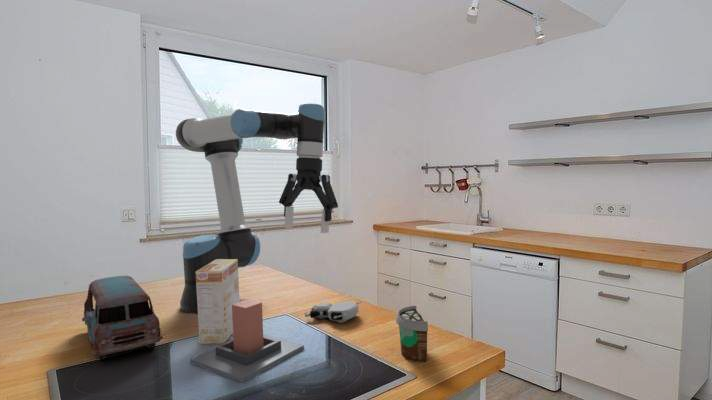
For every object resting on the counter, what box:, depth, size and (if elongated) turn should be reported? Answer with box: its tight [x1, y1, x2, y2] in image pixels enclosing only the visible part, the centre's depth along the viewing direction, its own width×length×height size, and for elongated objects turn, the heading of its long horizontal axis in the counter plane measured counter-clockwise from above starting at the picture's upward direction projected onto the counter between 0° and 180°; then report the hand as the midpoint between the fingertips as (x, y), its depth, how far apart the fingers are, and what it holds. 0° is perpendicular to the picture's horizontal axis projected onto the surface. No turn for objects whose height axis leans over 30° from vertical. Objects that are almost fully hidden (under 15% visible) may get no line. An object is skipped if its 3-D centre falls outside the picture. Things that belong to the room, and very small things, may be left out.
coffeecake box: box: [195, 259, 241, 345], centre depth 118 cm, size 15×7×20 cm, turn 178°
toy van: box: [81, 275, 164, 361], centre depth 114 cm, size 16×32×15 cm, turn 37°
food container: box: [395, 305, 429, 363], centre depth 102 cm, size 12×6×10 cm, turn 5°
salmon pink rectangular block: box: [232, 298, 264, 355], centre depth 103 cm, size 5×5×12 cm
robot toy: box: [304, 301, 363, 324], centre depth 128 cm, size 12×4×15 cm
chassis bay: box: [189, 333, 305, 384], centre depth 103 cm, size 18×20×3 cm
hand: (306, 230), depth 124 cm, fingers open, 13 cm apart
